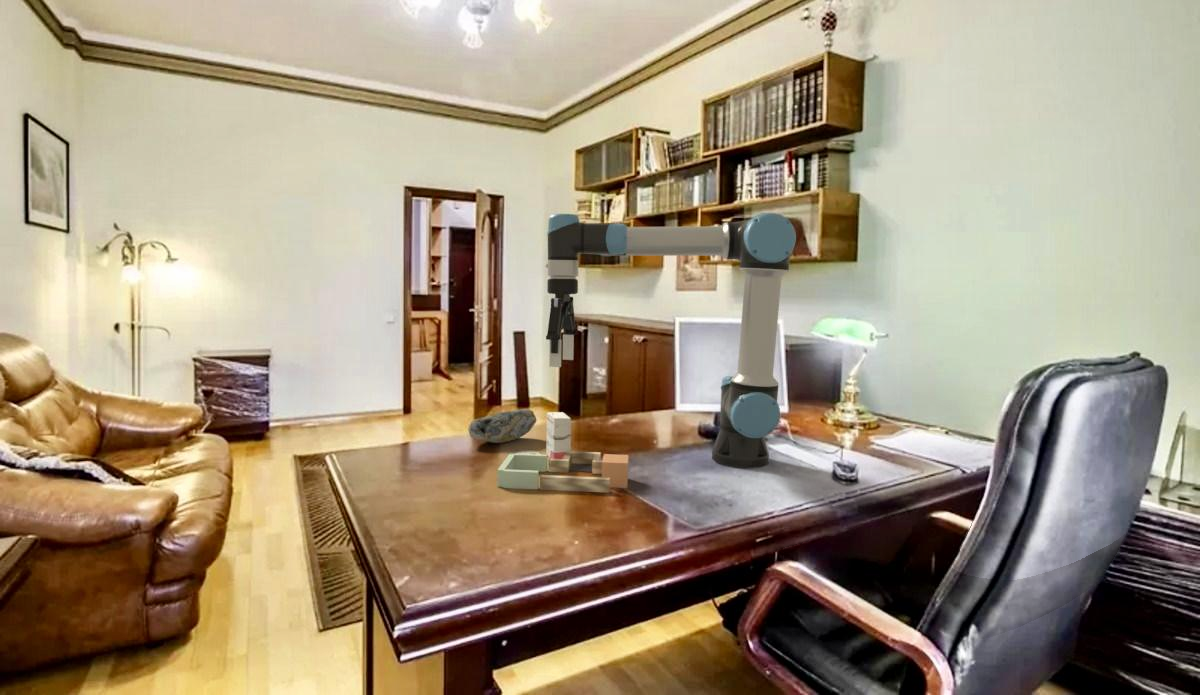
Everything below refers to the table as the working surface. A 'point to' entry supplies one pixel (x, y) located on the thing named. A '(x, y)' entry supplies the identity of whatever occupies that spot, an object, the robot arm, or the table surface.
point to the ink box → (558, 435)
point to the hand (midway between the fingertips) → (561, 363)
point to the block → (615, 469)
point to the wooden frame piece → (576, 483)
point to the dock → (521, 471)
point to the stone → (502, 426)
